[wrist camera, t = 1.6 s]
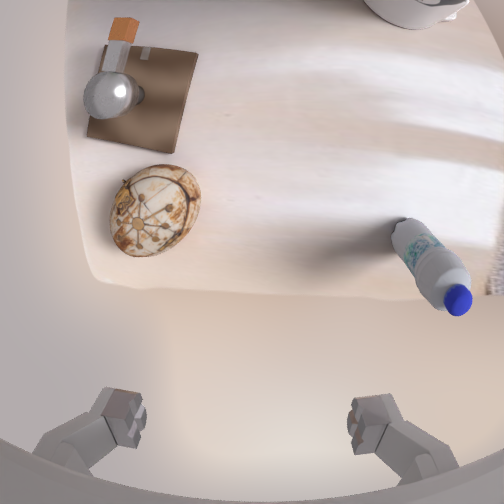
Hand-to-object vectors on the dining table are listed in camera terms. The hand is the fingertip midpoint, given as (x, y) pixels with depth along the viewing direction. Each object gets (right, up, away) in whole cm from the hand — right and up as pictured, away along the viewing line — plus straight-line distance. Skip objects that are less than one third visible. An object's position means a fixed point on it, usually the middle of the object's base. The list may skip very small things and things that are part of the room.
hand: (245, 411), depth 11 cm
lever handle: (-16, +29, +21) cm, 39 cm away
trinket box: (-14, +13, +36) cm, 41 cm away
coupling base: (-16, +29, +29) cm, 44 cm away
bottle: (+25, +9, +35) cm, 43 cm away
